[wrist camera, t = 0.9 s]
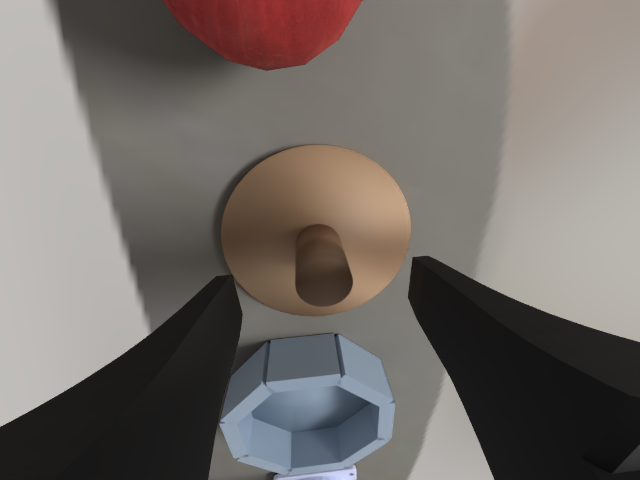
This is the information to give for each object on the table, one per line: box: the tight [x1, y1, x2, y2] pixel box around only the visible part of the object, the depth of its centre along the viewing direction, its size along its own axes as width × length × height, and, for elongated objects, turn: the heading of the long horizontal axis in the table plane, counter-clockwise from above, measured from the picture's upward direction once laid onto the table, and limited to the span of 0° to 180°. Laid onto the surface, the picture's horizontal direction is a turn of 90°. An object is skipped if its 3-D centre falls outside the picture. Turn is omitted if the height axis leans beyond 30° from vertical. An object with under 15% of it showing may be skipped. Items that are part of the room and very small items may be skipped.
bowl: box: [219, 333, 395, 476], centre depth 19 cm, size 11×11×3 cm
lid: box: [221, 145, 411, 316], centre depth 13 cm, size 10×10×4 cm
